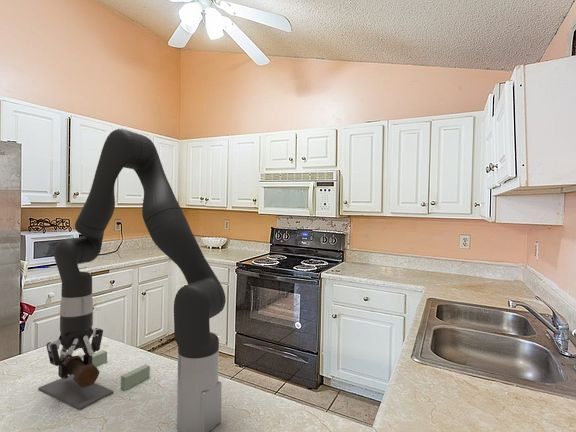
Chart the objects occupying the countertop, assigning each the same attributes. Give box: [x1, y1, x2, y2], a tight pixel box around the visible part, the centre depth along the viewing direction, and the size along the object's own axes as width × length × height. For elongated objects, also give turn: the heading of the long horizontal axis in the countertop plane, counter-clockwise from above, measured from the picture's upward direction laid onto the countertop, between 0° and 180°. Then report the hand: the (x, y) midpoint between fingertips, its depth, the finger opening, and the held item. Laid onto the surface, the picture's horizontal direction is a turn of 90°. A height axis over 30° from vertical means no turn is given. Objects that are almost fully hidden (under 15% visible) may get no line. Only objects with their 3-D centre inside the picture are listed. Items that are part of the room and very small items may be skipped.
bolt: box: [67, 354, 100, 388], centre depth 90 cm, size 6×5×15 cm
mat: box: [37, 374, 115, 411], centre depth 90 cm, size 19×9×1 cm, turn 62°
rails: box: [77, 349, 151, 391], centre depth 101 cm, size 28×8×4 cm, turn 62°
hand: (75, 373), depth 90 cm, fingers closed on bolt, 5 cm apart
